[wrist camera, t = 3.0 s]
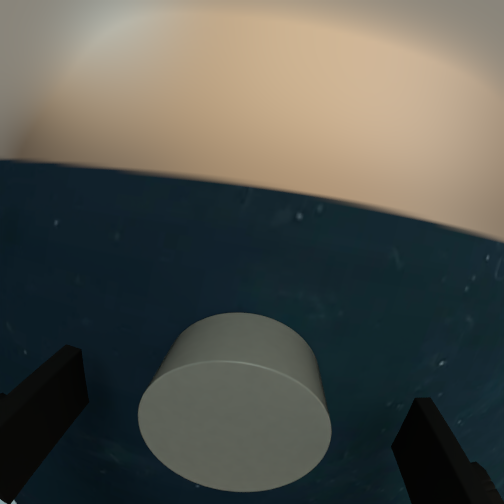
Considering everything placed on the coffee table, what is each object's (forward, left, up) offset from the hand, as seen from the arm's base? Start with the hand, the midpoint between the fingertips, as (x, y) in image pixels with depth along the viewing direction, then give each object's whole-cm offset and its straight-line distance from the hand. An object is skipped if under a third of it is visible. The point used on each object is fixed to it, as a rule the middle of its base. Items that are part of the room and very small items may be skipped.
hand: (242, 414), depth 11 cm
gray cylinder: (0, 0, -2) cm, 2 cm away
